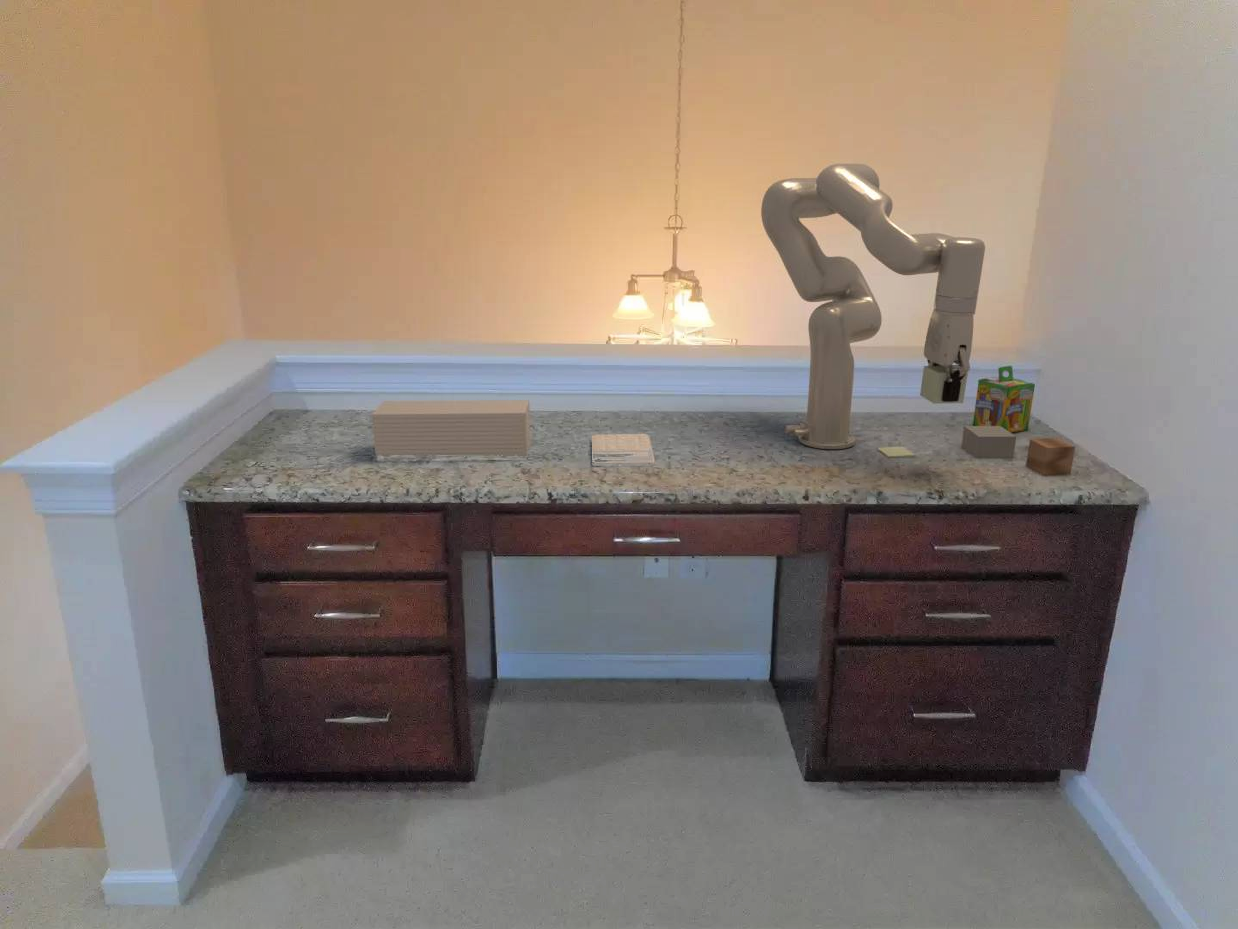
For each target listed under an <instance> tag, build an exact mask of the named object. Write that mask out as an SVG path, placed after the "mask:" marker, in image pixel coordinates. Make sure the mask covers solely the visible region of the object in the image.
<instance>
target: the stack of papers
mask: <svg viewBox="0 0 1238 929" xmlns="http://www.w3.org/2000/svg"><path fill="white" fill-rule="evenodd" d="M530 408H531V407H530V400H529V399H510V400H509V399H506V400H505V399H504V400H503V399H502V400H501V399H500V400H499V399H495V400H494V399H493V400H486V399H485V400H483V399H481V400H479V399H478V400H405V401H404V400H400V401H399V400H393V401H391V400H390V401H389V400H388V401H385V400H384V401H382V403H381V404H380V405H379V406H378V407H377V408H376V409H375V410H374V411H373V412H372V414H371V422H372V432H373V440H374V442H373V443H374V449H375V456H376V455H487V456H488V455H490V456H491V455H494V456H497V455H499V456H501V455H503V456H515V455H517V456H527V454H528V451H529V447H530V442H531V443H532V436H531V412H530ZM530 448H531V447H530Z"/></svg>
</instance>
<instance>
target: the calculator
mask: <svg viewBox="0 0 1238 929" xmlns="http://www.w3.org/2000/svg"><path fill="white" fill-rule="evenodd" d="M590 441H591V442H592V460H593V462H595V461H594V460H597V459H601V460H626V461H607V462H595V463H644V464H648V463H654V462H655V463H656V461H655V460H656V459H655V455H654V451H653V447H652V446H653V445H652V442H651V438H650V435H648V434H646V433H637V434H636V433H627V434H625V433H618V434H612V433H611V434H610V433H609V434H608V433H607V434H600V433H599V434H594V435H592V436H591V440H590ZM593 454H633V455H631V456H625V457H595V458H593Z"/></svg>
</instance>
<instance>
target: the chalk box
mask: <svg viewBox="0 0 1238 929" xmlns="http://www.w3.org/2000/svg"><path fill="white" fill-rule="evenodd" d="M1013 371H1014V370H1013V366H1012V365H1007V366H1000V367H998V376H995V377H986V378H981V379H978V381H977V382H978V383H977V389H976V390H977V391H976V397H975V398H976V399H975V407H974V412H973V413H974V414H973V421H972V426H1001V427H1003V428H1004V429H1006V430H1007V431H1009V432H1010V433H1012V434H1013V433H1017V432H1024V430H1026V431H1028V430H1029V424H1030V419H1031V411H1032V404H1033V400H1034V399H1033V398H1034V392H1035V387H1036V384H1035V383H1033V382H1029V381H1025V380H1023V379H1018V378H1014V373H1013ZM1004 372H1007V373H1008V376H1004Z"/></svg>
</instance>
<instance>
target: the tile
mask: <svg viewBox="0 0 1238 929" xmlns="http://www.w3.org/2000/svg"><path fill="white" fill-rule="evenodd" d="M876 450H877V451H878V452H880V453H881V454H882V455H883V456H885V457H886V458H888V459H895V458H896V459H897V458H898V459H899V458H915V457H916V454H915V453H913V452H912V451H910V450H908V448H906V447H904V446H891V447H890V446H889V447H887V446H886V447H885V446H884V447H876Z"/></svg>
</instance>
